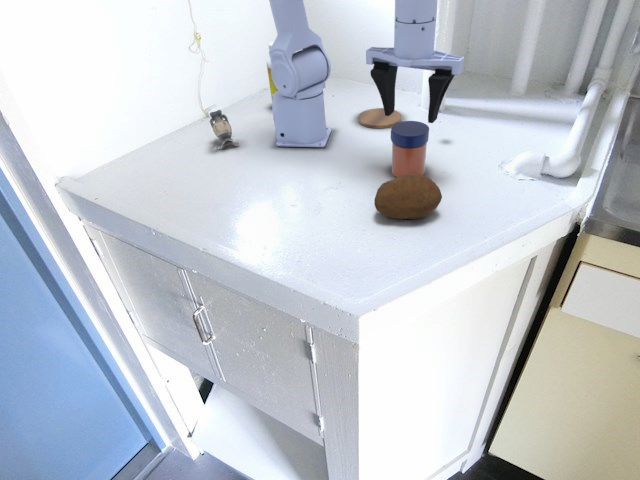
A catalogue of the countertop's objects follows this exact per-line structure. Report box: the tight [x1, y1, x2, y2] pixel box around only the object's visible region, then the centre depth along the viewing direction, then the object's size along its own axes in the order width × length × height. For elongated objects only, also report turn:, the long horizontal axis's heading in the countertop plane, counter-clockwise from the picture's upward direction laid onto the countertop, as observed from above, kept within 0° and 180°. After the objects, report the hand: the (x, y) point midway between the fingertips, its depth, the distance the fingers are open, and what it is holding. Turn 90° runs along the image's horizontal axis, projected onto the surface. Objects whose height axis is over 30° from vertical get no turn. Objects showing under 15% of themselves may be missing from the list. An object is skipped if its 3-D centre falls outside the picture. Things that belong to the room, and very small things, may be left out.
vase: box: [209, 109, 241, 152], centre depth 89 cm, size 5×5×6 cm
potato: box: [373, 174, 443, 220], centre depth 68 cm, size 7×10×6 cm
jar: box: [391, 142, 428, 178], centre depth 78 cm, size 6×6×7 cm
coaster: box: [357, 107, 403, 129], centre depth 96 cm, size 9×9×1 cm
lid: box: [390, 120, 430, 148], centre depth 75 cm, size 6×6×2 cm
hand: (410, 117), depth 74 cm, fingers open, 7 cm apart
